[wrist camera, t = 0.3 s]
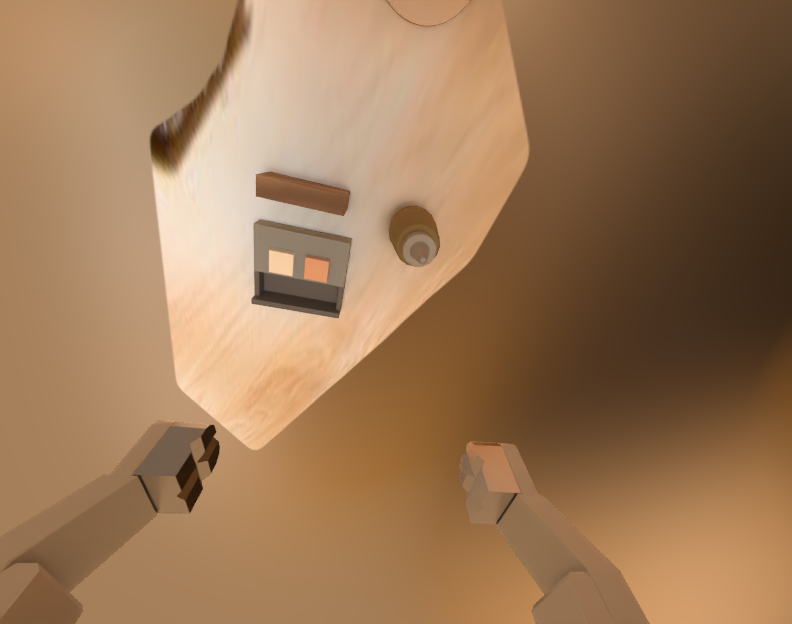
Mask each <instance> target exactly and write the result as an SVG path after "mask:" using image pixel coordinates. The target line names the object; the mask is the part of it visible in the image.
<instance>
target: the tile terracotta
mask: <svg viewBox="0 0 792 624" xmlns="http://www.w3.org/2000/svg"><path fill="white" fill-rule="evenodd" d="M329 267H330V259H327V258H322V257H317V256H312V255H307V256H306V257H305V271H304V279H309V280H314V281H320V282H325V283H327V281H328V275H329Z"/></svg>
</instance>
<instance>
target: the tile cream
mask: <svg viewBox="0 0 792 624" xmlns="http://www.w3.org/2000/svg"><path fill="white" fill-rule="evenodd" d="M295 258H296V252H292V251H287V250H282V249H277V248H271V249H270V250H269V272H272V273H277V274H282V275H288V276H293V275H294V273H295Z"/></svg>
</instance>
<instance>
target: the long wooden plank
mask: <svg viewBox="0 0 792 624" xmlns="http://www.w3.org/2000/svg"><path fill="white" fill-rule="evenodd" d="M349 194H350V191H348V190H344V189H340V188H336V187H331V186H327V185H323V184H319V183H315V182H311V181H306V180H302V179H298V178H294V177H290V176H286V175H281V174H277V173H273V172H266V173H261V174H256V196H257V197H262V198H266V199H271V200H275V201H279V202H284V203H288V204H293V205H297V206H302V207H306V208H310V209H315V210H319V211H324V212H328V213H333V214H337V215H341V216H344V214H345V212H346V211H347V208H348V201H349Z"/></svg>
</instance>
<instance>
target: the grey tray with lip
mask: <svg viewBox="0 0 792 624" xmlns="http://www.w3.org/2000/svg"><path fill="white" fill-rule="evenodd" d="M351 241H352V239H350V238H345V237H340V236H336V235H331V234H326V233H322V232H317V231H312V230H307V229H303V228H298V227H293V226H288V225H284V224H279V223H274V222H270V221H265V220H259V221H257V222H255V223H254V276H255V296H254V297H253V298H252V304H258V305H263V306H269V307H275V308H281V309H287V310H293V311H299V312H304V313H310V314H316V315H322V316H328V317H334V318H339V314H340V310H341V306H342V300H343V293H344V287H345V280H346V273H347V267H348V260H349V254H350V247H351ZM271 248H277V249H282V250H287V251H292V252H296V258H295V273H294V275H293V276H288V275H282V274H277V273H272V272H269V250H270V249H271ZM307 255H312V256H317V257H322V258H327V259H330V267H329V275H328V281H327V283H325V282H320V281H314V280H309V279H304V271H305V257H306V256H307Z"/></svg>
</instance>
